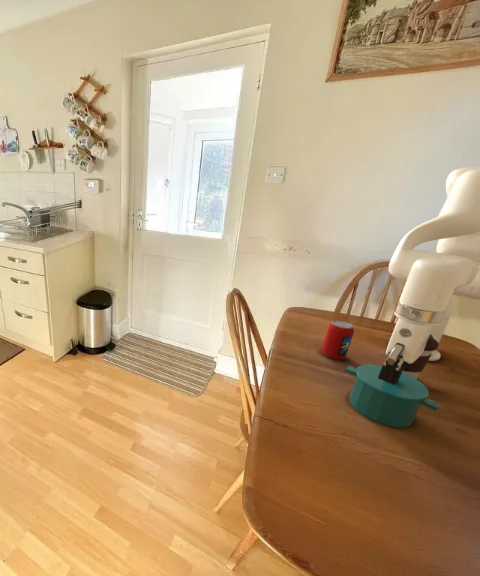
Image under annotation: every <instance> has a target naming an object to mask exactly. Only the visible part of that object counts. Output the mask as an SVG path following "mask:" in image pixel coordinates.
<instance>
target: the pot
mask: <svg viewBox="0 0 480 576" xmlns="http://www.w3.org/2000/svg"><path fill="white" fill-rule="evenodd" d="M356 370H357V367H354V366H352V365H348V366H347V367H346V368H345V370H344V372H345V373H348V374H350V375H353V376H354V377H355V379H354V382H353V385H352V388H351V391H350V393H349V397H348V400H349V403H350V404H351V406H352V407H353V408H354V409H355V410H356V411H357V412H358V413H360V414H361V415H363V416H365V417H366V418H368V419H370V420H372V421H374V422H377V423H379V424H381V425H385V426H389V427H393V428H407V427H409V426H411V425H412V424H413V422H414V421H415V419H416V416H417V414H418V413H419V410H420V408H421V406H422V407H423V406H424V407H426V408H428V409H430V410H433V411H435V412H436V411H437V410H438V409H439V407H440V405H441V403H440V402H438V401H435V400H432V399H430V398H428V397H427V398H426V399H424V400H421V401H409V400H403V399H398V398H395V397H391V396H389V395H386V394H383V393H381V392H379V391H377V390H375V389H373V388H371V387H369V386H368V385H366V384H365V383H364V382H362V381H361V380H360V379H359V378H358V376H357V374H356Z"/></svg>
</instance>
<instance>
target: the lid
mask: <svg viewBox="0 0 480 576" xmlns="http://www.w3.org/2000/svg"><path fill="white" fill-rule="evenodd" d="M396 362H397V364H398V363H399V362H398V361H396ZM382 366H383V365H377V364H362V365H360V366H359V365H358V367H356V369H357V370H356V374H357V376H358V378H359V379H360V380H361V381H362V382H364V383H365V384H366V385H368V386H369V387H371V388H373V389H375V390H377V391H379V392H381V393H383V394H386V395H389V396H391V397H395V398H398V399H403V400H409V401H421V400H424V399H426V398H428V397H429V389H428V387H426V386H425V384H423V383H422V382H421V381H420V380H418V378H417V379H415V378H413V377H411V376H409V375H407V374H405V373H403V372H402V371H403V369H404V367H405V365H404V364H402V366H401V368H400V371H401V372H400V374H399V377H398V379H397V381H396V384H395V385H392V384H390V383H388V382H385V381H383V380H380V379H379V378H378V376H379V374H380V371H381V368H382Z"/></svg>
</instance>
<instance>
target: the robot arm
mask: <svg viewBox="0 0 480 576" xmlns="http://www.w3.org/2000/svg"><path fill="white" fill-rule="evenodd" d="M445 192H446V193H445V194H446V200H445V202H444V203H443V206H442V208H441V209H440V212H439V214H438V216H436V217H433V218H431V219H430V220H426V221H424V222H423V223H419V225H417V226H415V227H414V228H412V229H411V230H409V231H408V232H407V233H405V235H404V236H403V237H402V238H401V240H400V241H399V243H398V245H397V246H396V249H395V250H394V252H393V254H392V257H391V258H390V261H389V264H388V272H389V274H390V275H391V276H392V277H394V278H396V279H398V280H399V279H400V280H403V281H405V284H404V287H403V289H402V291H401V295H400V298H399V299H398V302H397V305H396V308H395V311H394V313H393V314H394V315H395V316H396V317H397V318H398V320H397V322H396V324H395V326H394V328H393V330H394V331H393V330H392V331H393V333H392V336H391V338H389V341H388V343H387V347H386V350H385V355H387V356H388V357H387V359H386V358H385V361H384V362H383V364H382V365H381V366H382V368H381V371H380V374H379V376H378V378H379V379H380V380H383V381H385V382H388V383H390V384H392V385H395V384H396V381H397V379H398V377H399V374H400V372H401V371H400V368H401V366H402V364H404V365H405V367H404V369H403V371H405V372H407V371H408V370H409V368H410V366H411V363H413V362H414V361H415V360H416V359H417V358H418V357H419V356H420V355H421V354H422V353H423V351H424V348H425V345H426V343H427V340H428V337H429V335H430V334H431V335H432V336H433V339H435V340H436V341H437V342H438V343H439V344H440V342H441V339H442V338H443V335H444V333H445V330H446V329H447V326H448V324H449V322H450V319H451V317H452V315H453V313H454V311H455V310H454V309H455V306H454V303H453V301H452V300H451V298H452V296H455V297H456V296H457V297H461V298H466V299H471V300H476V301H480V266H477V264H480V165H479V166H466V167H459V168H456V169H454V170H452V171H451V172H450V173H449V174H448V176H447V178H446V180H445ZM432 241H437V243H436V248H435V249H436V252H435V251H427V250H419V249H415V248H416V247H418V246H419V245H422V244H424V243H428V242H432ZM476 263H477V264H476ZM441 356H442V355H441V353H440V351H439V350H437V349H436V350H434V351H432V353H431V357H430V358H429V360H428V362H435V361H439V360H440V359H441ZM396 361H398V362H399V363H398V364H397V362H396Z"/></svg>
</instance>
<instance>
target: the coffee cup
mask: <svg viewBox="0 0 480 576" xmlns="http://www.w3.org/2000/svg"><path fill="white" fill-rule="evenodd" d="M393 331H394V329H393V330H392V331H391V332H390V335H389V337H390V338H391V336H392V333H393ZM390 338H389V339H390ZM439 345H440V342H439V343H438V342H437V341H436V340H435V339H433V336H432V335H431V334H430V335H429V337H428V340H427V343H426V345H425V348H424V351H423V353H422V354H421V355H420V356H419V357H418V358H417V359H416V360H415V361H414V362H413V363H411V366H410V368H409V370H408V371H407V372H405V371H402V372H403V373H405V374H407V375H409V376H411V377H413V378H415V379H417V380H418V378H419V375H420V374H421V373H422V372H423V371H424V369H425V367H426V365H427V364H428V362H429V361H428V360H429V358H430V357H431V353H432V351H434V350H437V349H438V348H439ZM387 357H388V356H387V354H385V360H386V359H387Z"/></svg>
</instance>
